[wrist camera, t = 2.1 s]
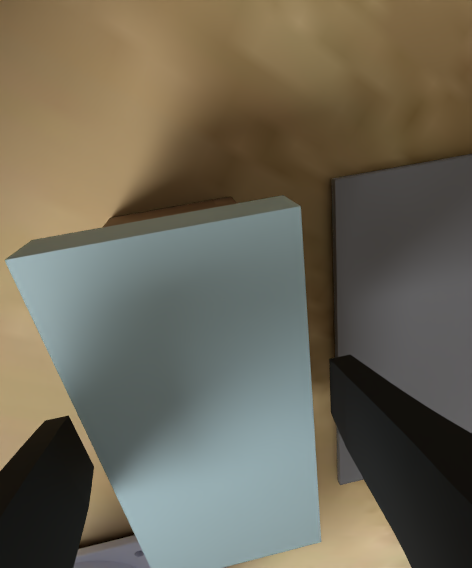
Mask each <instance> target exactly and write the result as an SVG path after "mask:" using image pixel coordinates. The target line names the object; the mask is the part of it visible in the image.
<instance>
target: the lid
mask: <svg viewBox="0 0 472 568" xmlns="http://www.w3.org/2000/svg"><path fill="white" fill-rule="evenodd" d="M5 262H6V264H7V266H8V268H9V270H10V273H11V275H12V277H13V279H14V281H15V283H16V285H17V287H18V289H19V291H20V294H21V296H22V298H23V300H24V302H25V304H26V306H27V308H28V310H29V313H30V315H31V317H32V319H33V321H34V323H35V325H36V327H37V329H38V332H39V334H40V336H41V338H42V340H43V342H44V344H45V346H46V348H47V350H48V353H49V355H50V357H51V359H52V361H53V363H54V365H55V367H56V369H57V372H58V374H59V376H60V378H61V380H62V382H63V384H64V386H65V388H66V391H67V393H68V395H69V397H70V399H71V401H72V403H73V405H74V407H75V409H76V412H77V414H78V416H79V418H80V420H81V422H82V424H83V426H84V428H85V431H86V433H87V435H88V437H89V439H90V441H91V443H92V445H93V447H94V450H95V452H96V454H97V456H98V458H99V460H100V462H101V464H102V466H103V468H104V471H105V473H106V475H107V477H108V479H109V481H110V483H111V485H112V487H113V490H114V492H115V494H116V496H117V498H118V500H119V502H120V504H121V506H122V509H123V511H124V513H125V515H126V517H127V519H128V521H129V523H130V525H131V527H132V530H133V532H134V534H135V536H136V538H137V540H138V542H139V544H140V546H141V549H142V551H143V553H144V555H145V557H146V559H147V561H148V563H149V565H150V568H224V567H227V566H231V565H235V564H239V563H243V562H247V561H250V560H254V559H258V558H262V557H266V556H269V555H273V554H277V553H281V552H285V551H289V550H292V549H296V548H300V547H304V546H308V545H311V544H315V543H319V542H321V531H320V514H319V498H318V482H317V465H316V449H315V433H314V416H313V400H312V383H311V367H310V351H309V334H308V318H307V301H306V285H305V269H304V252H303V236H302V220H301V206H300V205H298V204H296V203H295V202H293V201H292V200H290V199H288V198H287V197H285V196H283V195H282V196H276V197H270V198H265V199H259V200H254V201H248V202H242V203H237V204H231V205H226V206H220V207H215V208H209V209H203V210H198V211H192V212H187V213H181V214H175V215H170V216H164V217H159V218H153V219H147V220H142V221H136V222H131V223H125V224H119V225H114V226H108V227H103V228H97V229H92V230H86V231H80V232H75V233H69V234H64V235H58V236H52V237H47V238H41V239H36V240H31V241H30V242H29V243H27V244H26V245H24V246H23V247H22V248H20V249H19V250H18V251H16V252H15V253H14V254H12V255H11V256H9V257H8V258H7V259H5Z"/></svg>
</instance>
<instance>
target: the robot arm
mask: <svg viewBox="0 0 472 568" xmlns="http://www.w3.org/2000/svg"><path fill="white" fill-rule="evenodd" d="M329 362H330V398H331V414H332V416H333V418H334V421H335V423H336V426H337V428H338V430H339V433H340V435H341V437H342V440H343V442H344V444H345V446H346V448H347V450H348V452H349V454H350V456H351V457H352V459H353V461H354V463H355V464H356V466H357V468H358V470H359V472H360V473H361V475H362V477H363V479H364V480H365V482H366V484H367V486H368V487H369V489H370V491H371V493H372V494H373V496H374V498H375V500H376V502H377V503H378V505H379V507H380V509H381V510H382V512H383V514H384V516H385V517H386V519H387V521H388V523H389V524H390V526H391V528H392V530H393V531H394V533H395V535H396V537H397V539H398V541H399V543H400V545H401V547H402V549H403V551H404V552H405V555H406V557H407V559H408V561H409V563H410V565H411V567H412V568H472V433H470V432H469V431H467V430H465V429H463V428H462V427H460V426H458V425H457V424H455V423H453V422H452V421H450V420H448V419H446V418H445V417H443V416H441V415H440V414H438V413H436V412H435V411H433V410H432V409H430V408H428V407H427V406H425V405H424V404H422V403H421V402H419V401H418V400H416V399H415V398H413V397H411V396H410V395H408V394H407V393H405V392H404V391H402V390H401V389H399V388H398V387H396V386H395V385H393V384H392V383H391V382H389V381H388V380H386V379H385V378H383V377H382V376H380V375H379V374H378V373H376V372H375V371H373V370H372V369H370V368H369V367H368V366H366V365H365V364H363V363H362V362H360V361H359V360H358V359H356V358H355V357H353V356H352V355H345V356H341V357H336V358H331V359H329ZM93 470H94V466H93V464H92V462H91V460H90V458H89V456H88V454H87V452H86V450H85V448H84V446H83V444H82V442H81V440H80V438H79V436H78V434H77V432H76V430H75V427H74V425H73V423H72V421H71V419H70V417H69V416H65V417H60V418H55V419H51V420H46V421H45V422H44V423H43V424H42V425H41V426H40V427H39V428H38V429H37V430H36V431H35V432H34V433H33V435H32V436H31V437H30V438H29V439H28V440H27V441H26V442H25V444H24V445H23V446H22V447H21V448H20V449H19V450H18V452H17V453H16V454H15V455H14V456H13V457H12V458H11V460H10V461H9V462H8V463H7V464H6V465H5V467H4V468H3V469H2V470H1V471H0V568H150V565H149V563H148V561H147V559H146V557H145V555H144V553H143V551H142V549H141V546H140V544H139V542H138V540H137V538H136V536H135V535H133V536H129V537H125V538H121V539H117V540H113V541H109V542H105V543H101V544H97V545H93V546H89V547H85V548H81V549H78V548H79V544H80V540H81V536H82V532H83V528H84V524H85V520H86V516H87V512H88V507H89V501H90V494H91V487H92V478H93Z"/></svg>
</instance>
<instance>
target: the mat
mask: <svg viewBox="0 0 472 568" xmlns="http://www.w3.org/2000/svg"><path fill="white" fill-rule="evenodd" d="M332 226H333V274H334V323H335V358H336V357H341V356H345V355H352V356H353V357H355V358H356V359H358V360H359V361H360V362H362V363H363V364H365V365H366V366H368V367H369V368H370V369H372V370H373V371H375V372H376V373H378V374H379V375H380V376H382V377H383V378H385V379H386V380H388V381H389V382H391V383H392V384H393V385H395V386H396V387H398V388H399V389H401V390H402V391H404V392H405V393H407V394H408V395H410V396H411V397H413V398H415V399H416V400H418V401H419V402H421V403H422V404H424V405H425V406H427V407H428V408H430V409H432V410H433V411H435V412H436V413H438V414H440V415H441V416H443V417H445V418H446V419H448V420H450V421H452V422H453V423H455V424H457V425H458V426H460V427H462V428H463V429H465V430H467V431H469V432H470V433H472V154H468V155H463V156H457V157H451V158H446V159H440V160H434V161H429V162H423V163H418V164H412V165H406V166H401V167H395V168H389V169H384V170H378V171H372V172H367V173H361V174H355V175H350V176H344V177H338V178H333V179H332ZM337 468H338V482H339V484H340V485H343V484H347V483H351V482H355V481H359V480H363V477H362V475H361V473H360V472H359V470H358V468H357V466H356V464H355V463H354V461H353V459H352V457H351V456H350V454H349V452H348V450H347V448H346V446H345V444H344V442H343V440H342V437H341V435H340V433H339V430H338V428H337Z"/></svg>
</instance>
